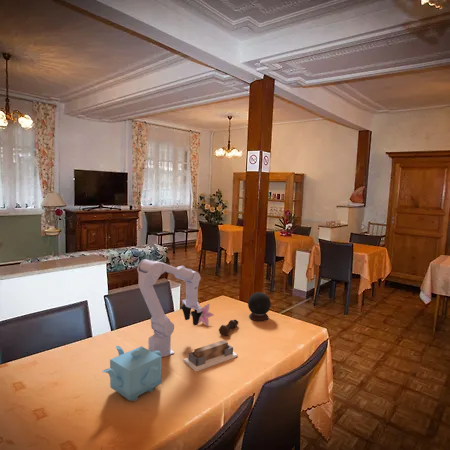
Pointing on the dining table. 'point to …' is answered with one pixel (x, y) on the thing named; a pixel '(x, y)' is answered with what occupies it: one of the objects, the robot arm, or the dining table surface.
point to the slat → (211, 350)
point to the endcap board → (202, 364)
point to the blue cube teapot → (135, 372)
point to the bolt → (228, 327)
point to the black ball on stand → (259, 306)
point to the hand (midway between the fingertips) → (191, 322)
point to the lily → (205, 315)
